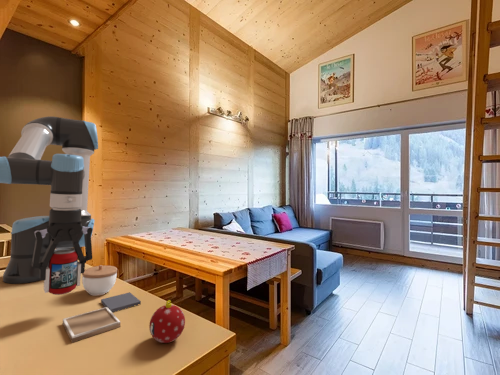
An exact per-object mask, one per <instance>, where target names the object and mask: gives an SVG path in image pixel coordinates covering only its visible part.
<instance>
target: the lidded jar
mask: <svg viewBox="0 0 500 375" xmlns="http://www.w3.org/2000/svg"><path fill="white" fill-rule="evenodd" d="M81 275H82V287H83V289H84V290H85V292H87V293H88V294H89V295H90V296H96V297H97V296H103V295H105V293H106V294H108V293H109V292H110V290H112V289H113V287H114V286H115V283H116V281H117V276H118V268H117V267H116V266H114V265H103V264H100V265H96V266H92V267H87V268H86V269H85V271H84V273H81ZM107 292H108V293H107Z"/></svg>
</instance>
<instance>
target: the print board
mask: <svg viewBox="0 0 500 375" xmlns="http://www.w3.org/2000/svg"><path fill="white" fill-rule="evenodd" d="M62 326H63V327H64V329H65V332H66V333H67V335H68V337H69V339H70V341H71V343H75V342H78V340H79V341H81V340H84V339H87V338H91V337H94V336H97V335H99V334H103V333H105V332H108V331H112V330H115V329H118V328H121V321H120V319H119V318H118V317H117V316H116V315H115V314H114V312H111V311H110V310H109V308H108V307H105V306H104V307H102V308H99V309H94V310H91V311H88V312H82V313H80V314H75V315H73V316H69V317H64V318H62Z"/></svg>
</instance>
